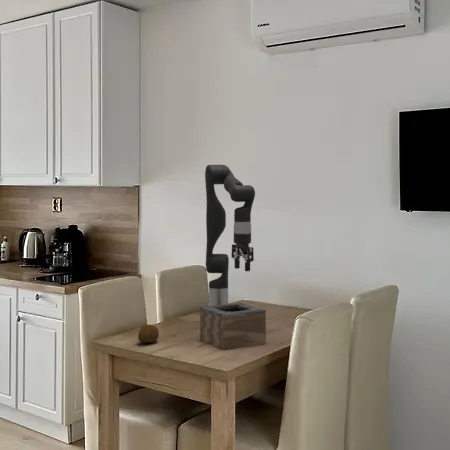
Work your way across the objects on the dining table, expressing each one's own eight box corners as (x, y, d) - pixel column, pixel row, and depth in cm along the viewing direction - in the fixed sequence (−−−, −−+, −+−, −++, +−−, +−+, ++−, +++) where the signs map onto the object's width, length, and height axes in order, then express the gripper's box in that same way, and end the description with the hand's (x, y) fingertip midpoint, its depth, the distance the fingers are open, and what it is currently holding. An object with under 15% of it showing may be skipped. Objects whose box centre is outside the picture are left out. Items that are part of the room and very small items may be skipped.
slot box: (200, 339, 266) (200, 306, 265) (239, 334, 276) (240, 302, 275) (224, 349, 249) (224, 315, 248) (265, 343, 259) (265, 310, 258)
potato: (162, 339, 266) (162, 321, 265) (153, 347, 254) (153, 328, 253) (144, 338, 267) (144, 321, 267) (134, 346, 255) (134, 327, 255)
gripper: (226, 231, 271) (226, 268, 272) (243, 233, 259) (243, 272, 260) (241, 230, 275) (241, 267, 276) (258, 233, 262) (258, 271, 264)
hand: (242, 269), depth 268 cm, fingers open, 8 cm apart
